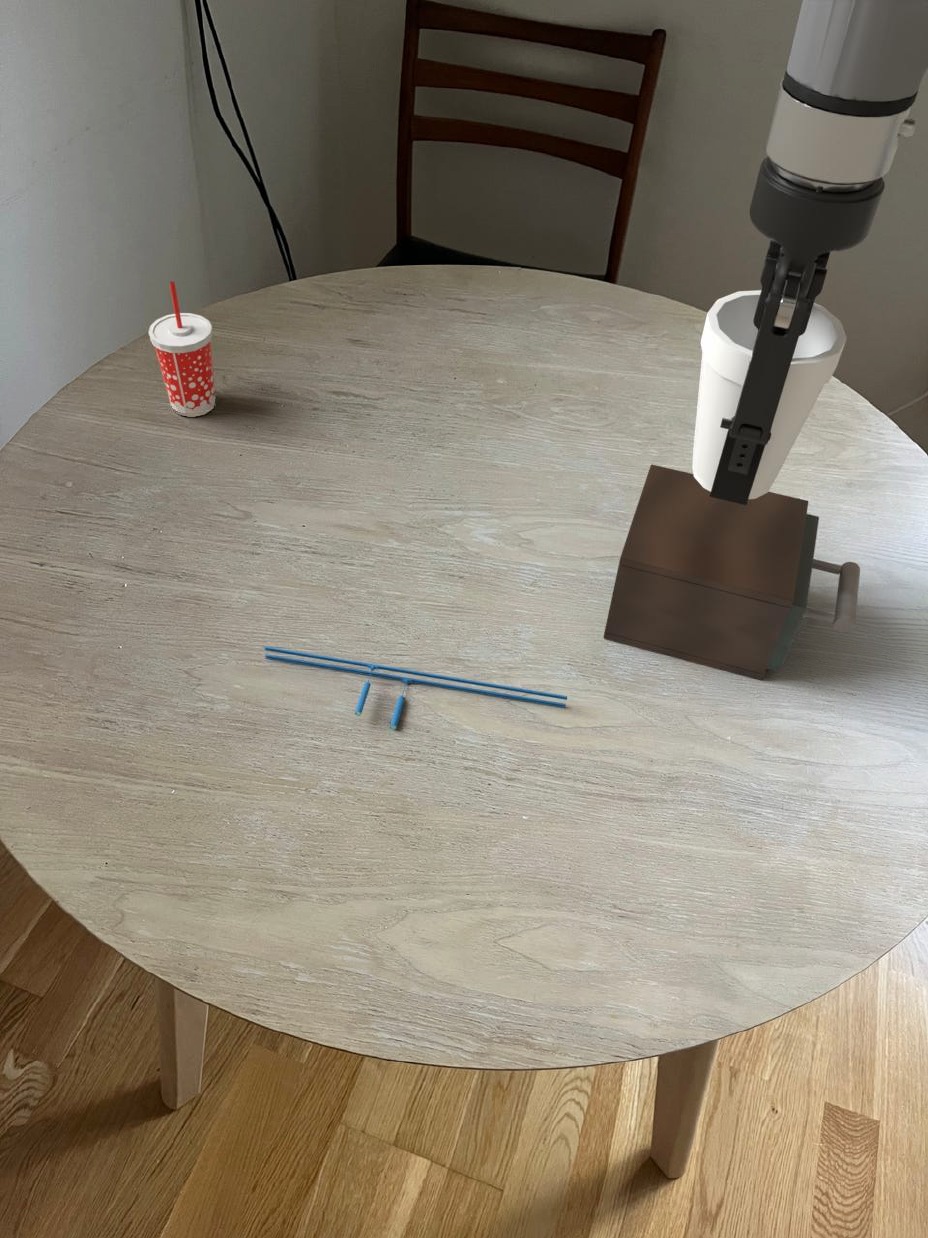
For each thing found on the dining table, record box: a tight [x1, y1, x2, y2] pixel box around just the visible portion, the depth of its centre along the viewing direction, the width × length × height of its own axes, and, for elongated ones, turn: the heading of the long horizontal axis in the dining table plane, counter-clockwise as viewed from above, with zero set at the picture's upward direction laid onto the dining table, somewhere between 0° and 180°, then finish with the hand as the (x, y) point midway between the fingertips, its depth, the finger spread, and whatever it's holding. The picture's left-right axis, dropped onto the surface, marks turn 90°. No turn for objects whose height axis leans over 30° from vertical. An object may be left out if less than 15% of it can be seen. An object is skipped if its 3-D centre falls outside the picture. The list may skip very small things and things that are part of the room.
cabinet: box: [603, 463, 809, 681], centre depth 89 cm, size 14×13×10 cm
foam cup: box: [691, 289, 848, 499], centre depth 76 cm, size 10×9×13 cm
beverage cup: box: [148, 280, 217, 413], centre depth 104 cm, size 6×6×14 cm
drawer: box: [766, 513, 861, 673], centre depth 88 cm, size 17×11×8 cm
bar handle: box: [263, 645, 568, 730], centre depth 83 cm, size 1×25×5 cm
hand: (738, 457), depth 80 cm, fingers closed on foam cup, 9 cm apart
